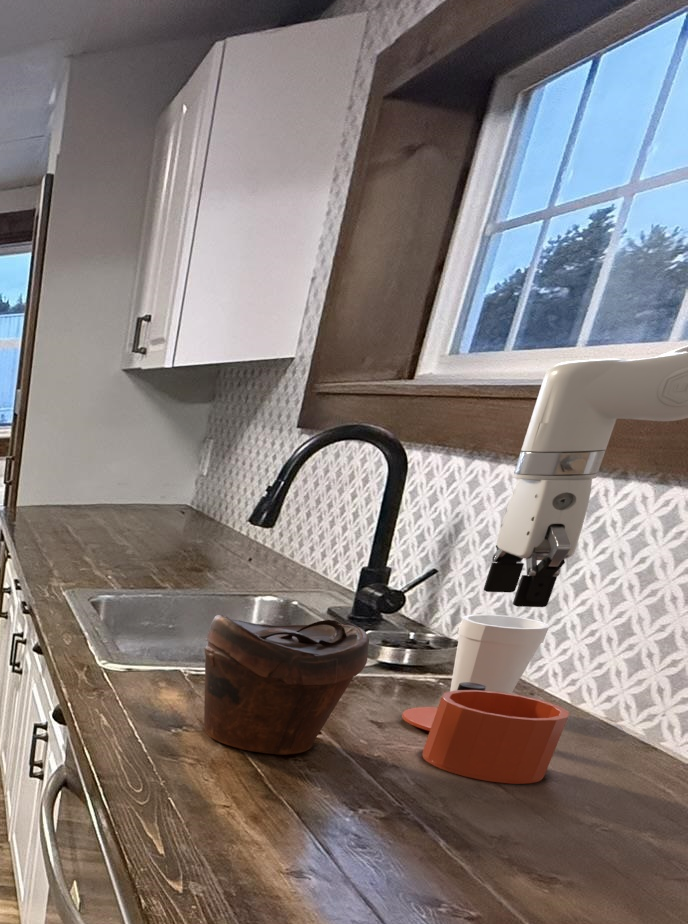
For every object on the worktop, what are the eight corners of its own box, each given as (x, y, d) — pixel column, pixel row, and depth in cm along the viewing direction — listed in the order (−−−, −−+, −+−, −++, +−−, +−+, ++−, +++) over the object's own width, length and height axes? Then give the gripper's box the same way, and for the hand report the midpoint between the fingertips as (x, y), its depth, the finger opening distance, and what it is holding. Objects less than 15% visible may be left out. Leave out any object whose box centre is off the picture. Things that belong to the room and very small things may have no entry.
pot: (520, 755, 110) (544, 695, 107) (561, 789, 100) (588, 724, 97) (410, 744, 115) (429, 686, 112) (439, 775, 105) (461, 713, 102)
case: (370, 745, 115) (410, 619, 108) (285, 775, 107) (322, 642, 100) (239, 709, 130) (267, 596, 123) (156, 733, 122) (181, 614, 115)
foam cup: (525, 704, 127) (557, 621, 122) (507, 717, 122) (539, 632, 117) (446, 689, 134) (473, 611, 129) (426, 701, 130) (453, 620, 125)
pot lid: (496, 719, 122) (512, 676, 119) (534, 749, 111) (552, 703, 109) (389, 709, 127) (402, 668, 125) (416, 738, 117) (430, 694, 114)
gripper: (635, 469, 96) (582, 613, 103) (564, 460, 111) (522, 587, 117) (548, 471, 99) (502, 611, 106) (491, 462, 114) (454, 586, 120)
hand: (513, 598), depth 111 cm, fingers open, 9 cm apart
